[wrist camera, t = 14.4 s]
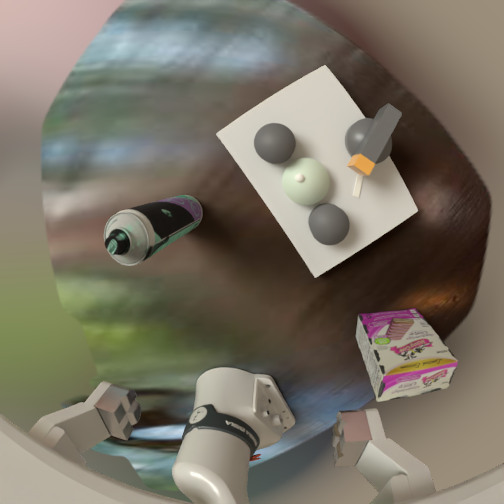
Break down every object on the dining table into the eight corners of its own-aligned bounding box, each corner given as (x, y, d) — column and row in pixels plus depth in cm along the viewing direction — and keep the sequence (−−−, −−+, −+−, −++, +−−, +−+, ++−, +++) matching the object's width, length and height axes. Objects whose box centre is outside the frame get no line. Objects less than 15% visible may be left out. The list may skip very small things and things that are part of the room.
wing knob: (362, 104, 31) (374, 93, 26) (398, 129, 32) (415, 123, 26) (331, 158, 34) (339, 155, 29) (368, 183, 34) (382, 185, 29)
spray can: (205, 198, 41) (139, 221, 22) (199, 233, 42) (135, 282, 23) (172, 191, 41) (90, 210, 22) (167, 226, 43) (88, 266, 24)
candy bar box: (416, 305, 41) (460, 360, 26) (412, 330, 43) (449, 389, 27) (356, 311, 43) (383, 375, 27) (353, 337, 44) (376, 404, 28)
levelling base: (410, 208, 37) (427, 214, 32) (313, 270, 42) (317, 286, 36) (322, 72, 34) (328, 56, 28) (220, 136, 38) (210, 130, 32)
